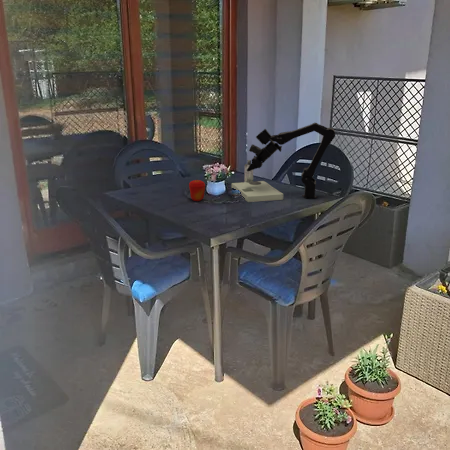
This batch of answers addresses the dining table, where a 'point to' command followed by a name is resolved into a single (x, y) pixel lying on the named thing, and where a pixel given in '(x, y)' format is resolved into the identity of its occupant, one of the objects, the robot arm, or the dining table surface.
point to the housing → (257, 191)
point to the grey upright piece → (248, 173)
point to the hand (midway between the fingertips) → (247, 169)
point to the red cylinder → (197, 190)
